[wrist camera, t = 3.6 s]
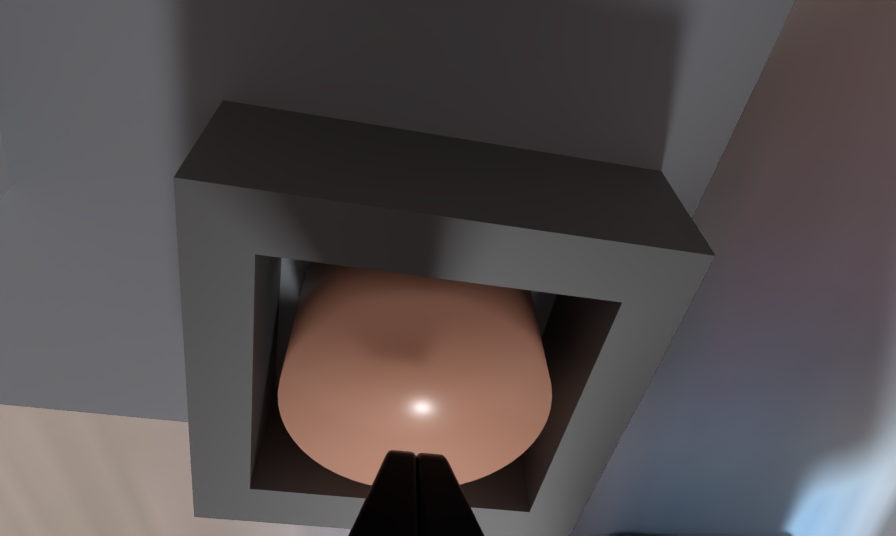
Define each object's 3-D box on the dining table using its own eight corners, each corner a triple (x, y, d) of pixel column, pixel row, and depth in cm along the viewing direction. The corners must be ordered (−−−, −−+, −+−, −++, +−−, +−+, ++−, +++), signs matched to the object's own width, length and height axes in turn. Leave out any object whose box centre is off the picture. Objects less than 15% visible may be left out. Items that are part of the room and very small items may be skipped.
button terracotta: (558, 229, 12) (588, 321, 10) (501, 398, 14) (514, 499, 12) (308, 193, 11) (283, 283, 9) (295, 376, 14) (272, 478, 12)
